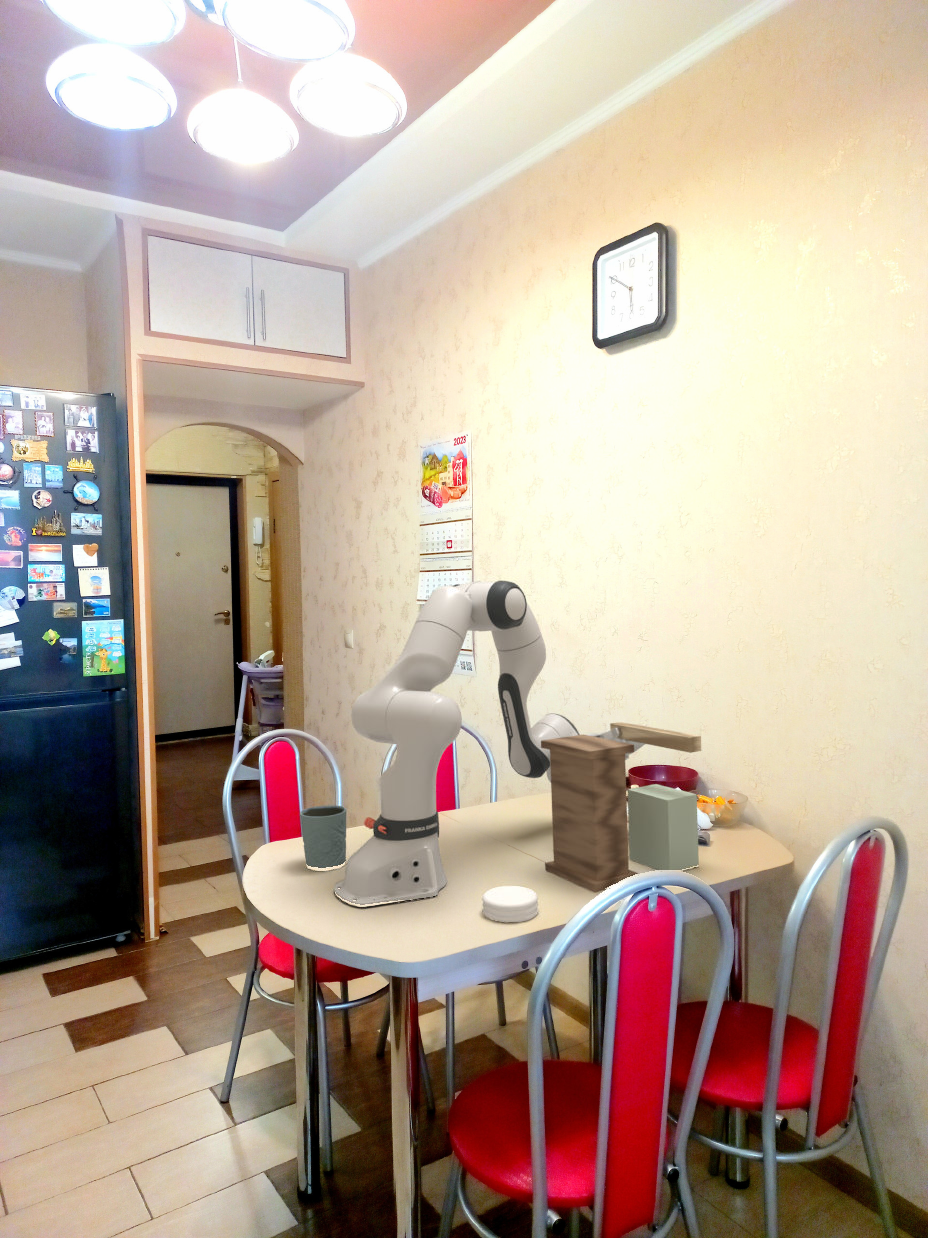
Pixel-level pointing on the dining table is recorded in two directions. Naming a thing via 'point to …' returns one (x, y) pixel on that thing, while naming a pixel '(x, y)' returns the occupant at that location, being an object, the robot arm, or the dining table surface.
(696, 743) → the maple rod
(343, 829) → the grey-green cup
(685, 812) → the sage-green block
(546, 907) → the dining table surface
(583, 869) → the walnut pedestal
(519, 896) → the coaster
